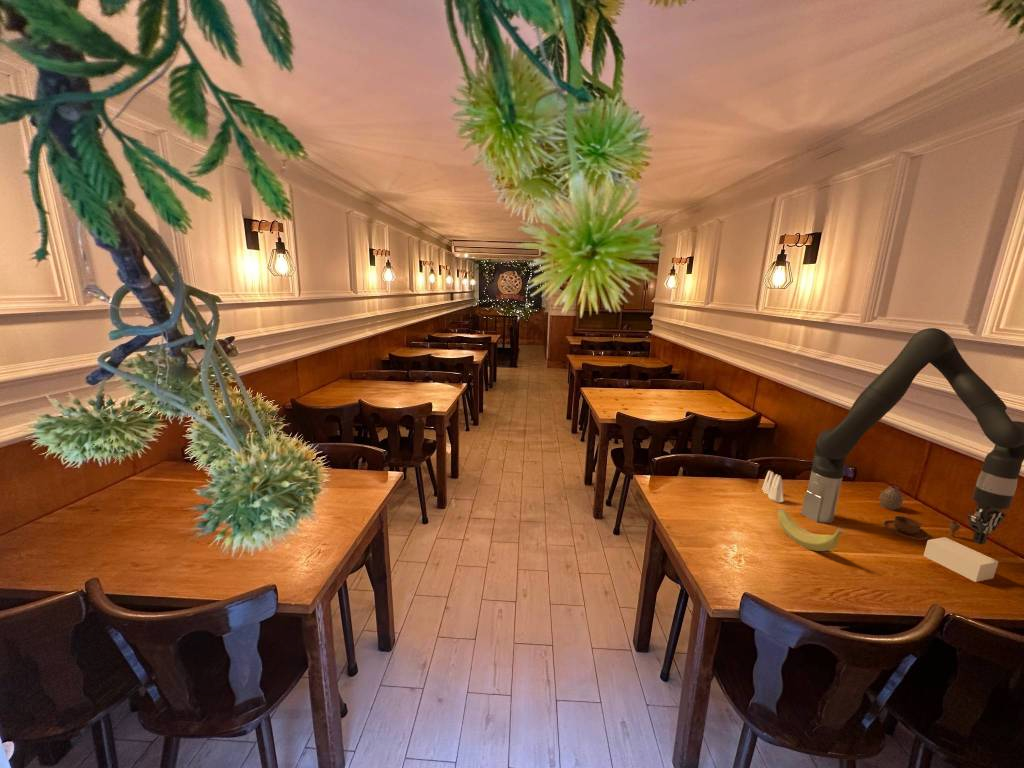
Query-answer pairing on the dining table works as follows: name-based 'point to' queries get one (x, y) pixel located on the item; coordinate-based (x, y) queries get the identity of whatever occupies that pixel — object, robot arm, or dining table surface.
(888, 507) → the grey rounded lump
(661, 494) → the dining table surface
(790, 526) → the banana
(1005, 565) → the dining table surface
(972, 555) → the block
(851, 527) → the dining table surface
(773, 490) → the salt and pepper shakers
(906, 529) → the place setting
